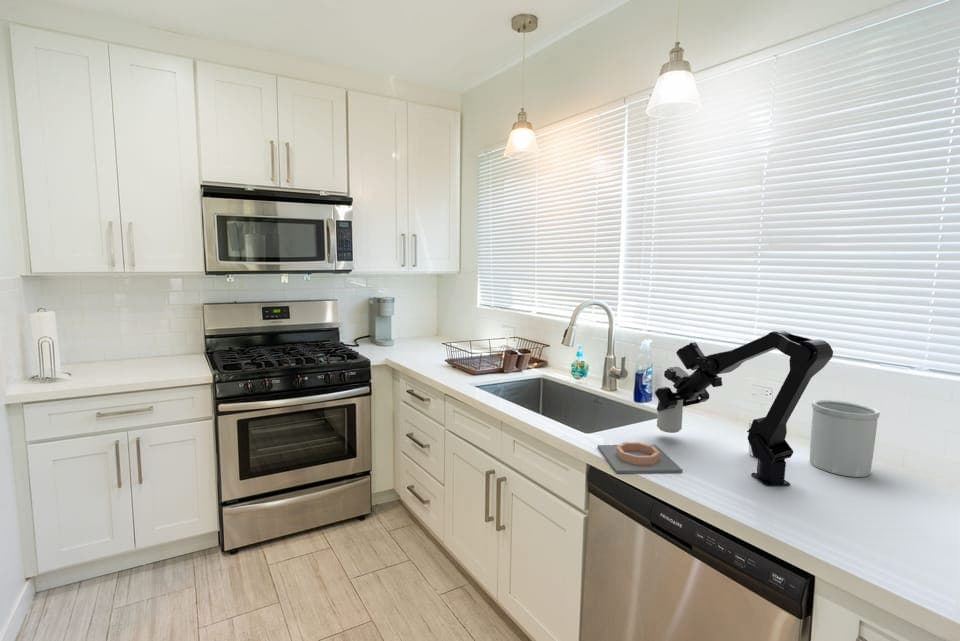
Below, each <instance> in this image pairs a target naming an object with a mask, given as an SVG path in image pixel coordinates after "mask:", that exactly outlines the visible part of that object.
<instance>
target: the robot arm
mask: <svg viewBox="0 0 960 641" xmlns="http://www.w3.org/2000/svg"><path fill="white" fill-rule="evenodd" d="M776 349H777V350H778V351H780V352H781V353H782V354H783V355H786V356H788V357H789V372H788V373H787V375H786V378H785V379H784V381H783V383H782V385H781V387H780V389H779V391H778V393H777V395H776V396H775V398H774V400H773V402H772V404H771V406H770V408H769V410H768V412H767V413H766V415H765V416H764V417H758V418H753V419H754V420H753V422H752V425H751V428H750V429H749V428H748V430H746V432H747V433H748V435H747V441H748V444H749V443H750V445H751V449H752V453H753V456H752V457H753V458H754V459H757V462H756V463H757V465H756V472H752V473H751V477H753V478H755V479H756V480H757V481H759V482H761V483H762V484H763V485H764V486H768V487H769V486H790V485H791V483H790V482H789V481H787V479H785V478H786V477H785V476H786V466H787V462H786V459H790V458H792V456H793V454H794V450H793V448H792V447H791V445H790V444H789V443H788V442H787V440H786V437H787V434H788V433H787V432H788V431H787V430H788V429H787V423H788V421H789V419H790V418H791V416H792V414H793V412H794V410H795V408H796V406H797V405H798V403H799V401H800V399H801V398H802V395H803V394H804V392H805V390H806V389H807V387H808V386H809V383H810V381H811V379H812V378H813V377H814V376H815V375H817V373H819V372H820V371H821V370H823V368H825V366H826V365H827V364H828V363H829V362H830V360H832V358H833V355H834V350H833V348H832V346H831V345H830V344H829V343H828V342H827V341H826V340H824V339H811V338H808V337H804V336H800V335H797V334H793V333H790V332H787V331H786V330H776V331H775V330H774V331H771V332H769V333H767V334H766V335H763V336H761V337H758V338H757V339H754V340H752V341H749V342H748V343H745V344H743V345H741V346H738V347H736V348H733V349H731V350H727V351H722V352H717V353H712V354H709V355H705V354H704V353H703V352H702V350H701V349H700V346H699V345H698V344H697V342H696V341H695V342H690V343H689V344H687V345H684V346H683V347H681V348H679V349H677V351H676V352H675V353H676V355H677V357H678V359H679V360H680V361H681V363H682V364H683V366H684V367H685V369H686V370H691V371H693V372H692V373H691V374H689V373H687V372H686V371H685V370H684V369H683V368H681V367H680V366H672V367H671V366H670V367H668V368H666V370H664V373H663V377H664V378H666V379H667V380H668V381H670V382H671V383H673V384H672V386H673V388H674V389H676V390H675V392H676V393H673V392H674V391H672V389H671V388H670V387H668V386H664V387H659V388H657V389H656V390H654V394H655V396H656V397H657V400H658V399H659V401H660V402H659V404H658V403H657V407H656V410H657V411H663V410H667V409H671V408H675V406H676V405H677V402H678V401H680V400H683V408H684V407H687V406H691V405H692V406H693V405H696V404H701V403H704V402H705V403H706V402H707V401H708V400H709V399H710V393H709V391H707V388H709V387H710V386H711V387H713V388H717V387H718V388H719V387H723V381H722V379H723V378H722V377H721V376H719V375H721V374H722V375H723V374H727V373H728V374H730V373H731V372H733V371H735V370H736V369H738V368H739V367H741V365H742V364H744V363H745V362H747V361H749V360H752V359H754V358H757V357H759V356H761V355H763V354H766V353H768V352H769V353H770V352H771V351H774V350H776Z"/></svg>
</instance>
